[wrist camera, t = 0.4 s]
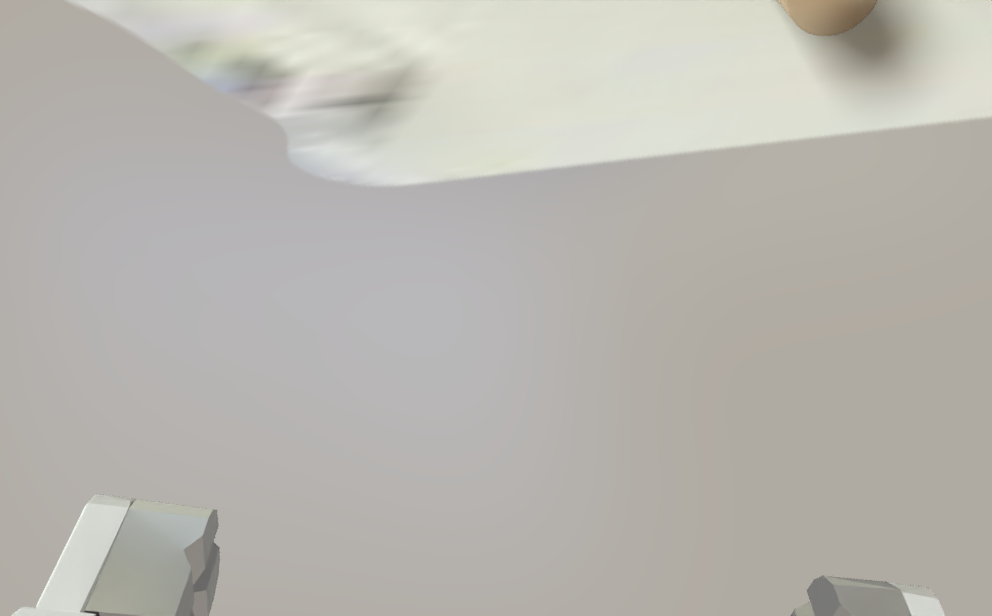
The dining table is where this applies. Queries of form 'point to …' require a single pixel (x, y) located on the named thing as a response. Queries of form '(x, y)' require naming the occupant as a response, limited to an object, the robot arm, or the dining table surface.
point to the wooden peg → (827, 14)
